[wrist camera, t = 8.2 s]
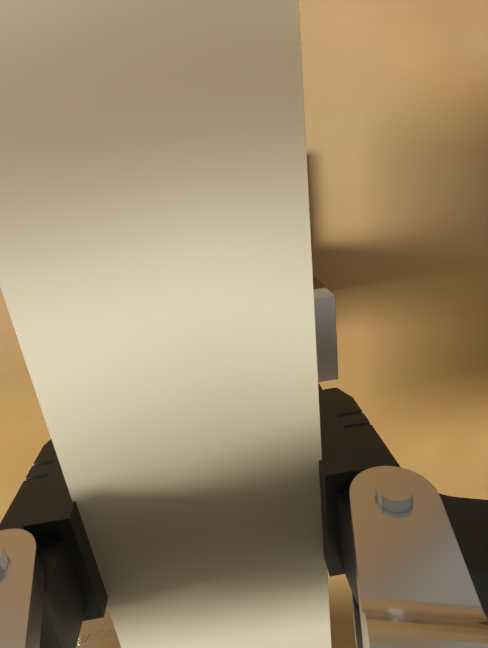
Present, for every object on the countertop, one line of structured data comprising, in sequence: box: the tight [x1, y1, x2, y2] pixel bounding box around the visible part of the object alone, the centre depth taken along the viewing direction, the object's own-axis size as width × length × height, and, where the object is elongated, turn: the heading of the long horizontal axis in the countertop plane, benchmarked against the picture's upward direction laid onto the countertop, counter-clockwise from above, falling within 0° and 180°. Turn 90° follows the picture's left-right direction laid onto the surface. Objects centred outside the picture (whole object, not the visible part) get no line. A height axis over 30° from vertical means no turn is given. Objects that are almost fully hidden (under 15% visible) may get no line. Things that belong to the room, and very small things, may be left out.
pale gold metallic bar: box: [0, 0, 331, 648], centre depth 9 cm, size 16×4×4 cm, turn 6°
